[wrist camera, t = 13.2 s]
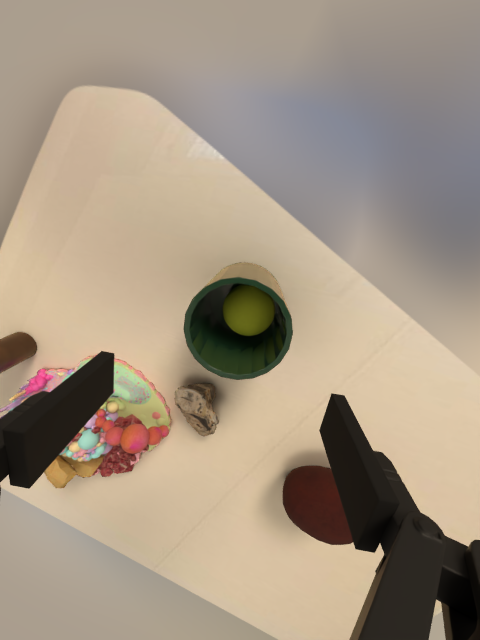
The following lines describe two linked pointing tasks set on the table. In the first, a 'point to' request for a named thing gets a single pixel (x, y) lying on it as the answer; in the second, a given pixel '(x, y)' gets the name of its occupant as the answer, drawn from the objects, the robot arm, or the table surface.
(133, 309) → the table surface
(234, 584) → the table surface
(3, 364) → the post
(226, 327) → the tube
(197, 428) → the rock
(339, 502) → the dark brown round lump
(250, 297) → the ball
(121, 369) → the candy landscape model
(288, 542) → the table surface
